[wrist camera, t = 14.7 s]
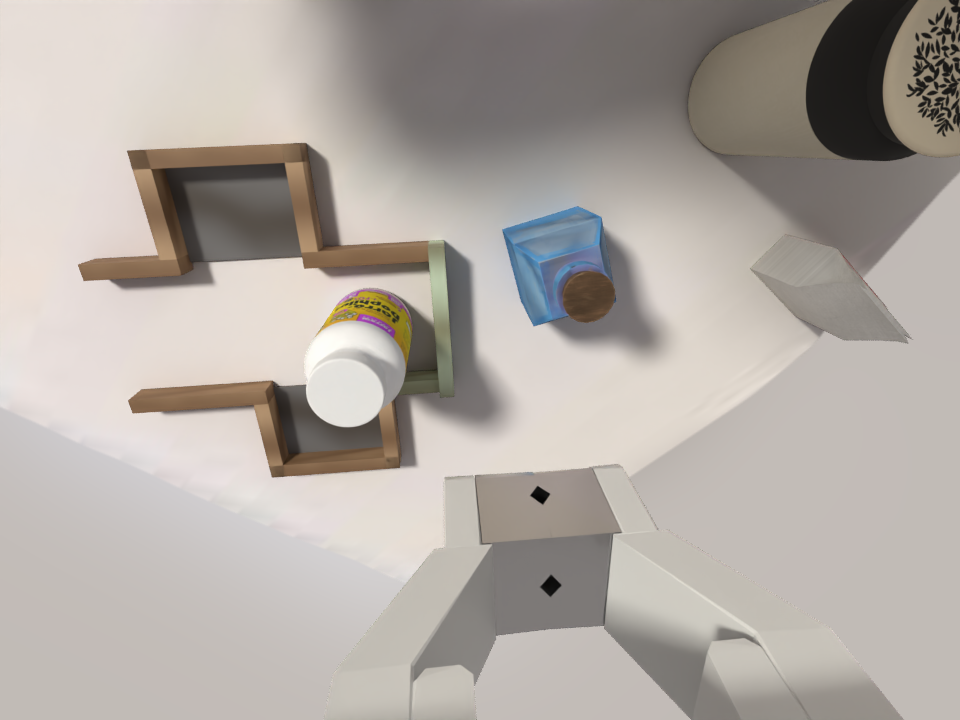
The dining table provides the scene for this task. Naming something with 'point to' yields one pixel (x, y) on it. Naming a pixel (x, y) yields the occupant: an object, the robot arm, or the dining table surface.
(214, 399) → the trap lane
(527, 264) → the perfume bottle
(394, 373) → the supplement bottle
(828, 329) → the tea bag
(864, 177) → the dining table surface
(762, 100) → the travel mug
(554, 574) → the robot arm
